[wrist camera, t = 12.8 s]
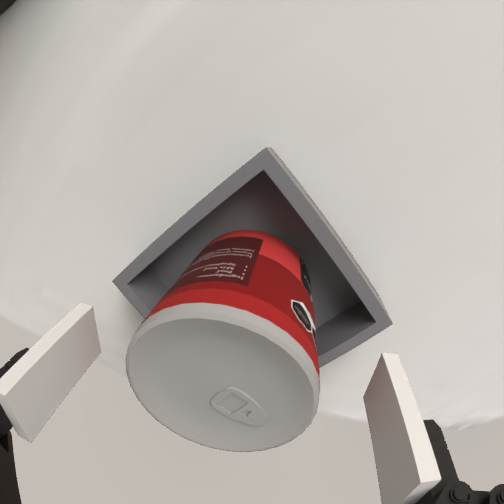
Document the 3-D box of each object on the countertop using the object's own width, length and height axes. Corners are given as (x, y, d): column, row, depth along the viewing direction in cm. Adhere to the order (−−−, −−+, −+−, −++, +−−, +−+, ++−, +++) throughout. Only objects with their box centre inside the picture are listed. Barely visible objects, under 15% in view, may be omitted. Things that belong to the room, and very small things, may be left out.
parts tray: (138, 259, 23) (112, 281, 19) (271, 147, 19) (266, 147, 15) (243, 374, 25) (236, 407, 21) (378, 294, 21) (393, 323, 18)
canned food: (279, 345, 23) (266, 469, 13) (181, 300, 23) (111, 404, 12) (332, 259, 20) (363, 369, 10) (221, 205, 20) (146, 272, 10)
